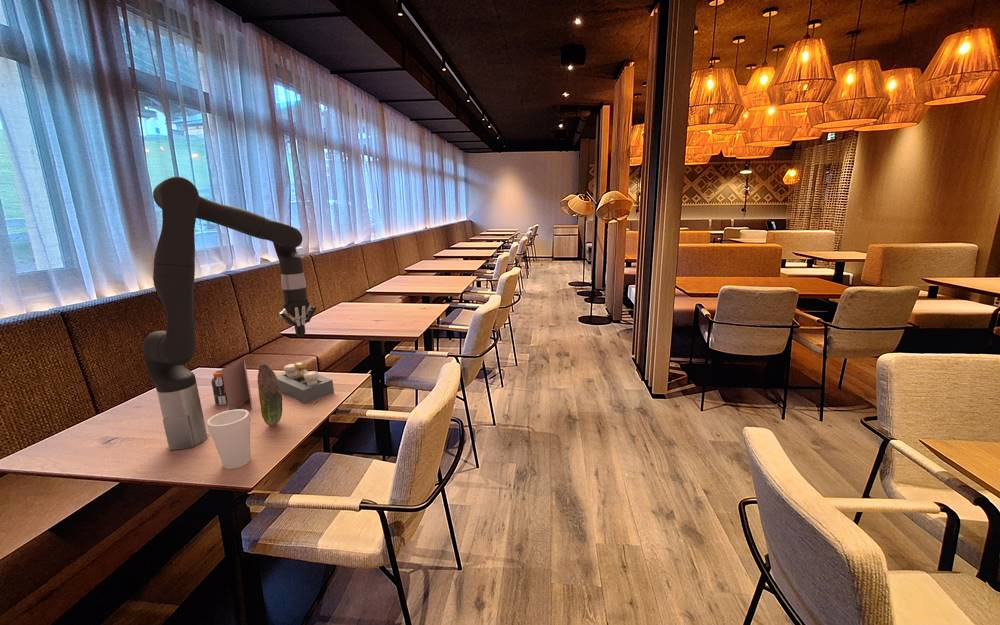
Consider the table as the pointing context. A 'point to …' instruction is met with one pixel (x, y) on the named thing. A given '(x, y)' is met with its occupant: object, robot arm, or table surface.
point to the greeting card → (236, 384)
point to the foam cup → (231, 437)
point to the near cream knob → (311, 378)
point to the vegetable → (269, 395)
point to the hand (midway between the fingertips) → (301, 335)
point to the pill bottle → (219, 388)
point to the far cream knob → (290, 370)
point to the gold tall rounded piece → (300, 370)
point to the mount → (305, 388)
